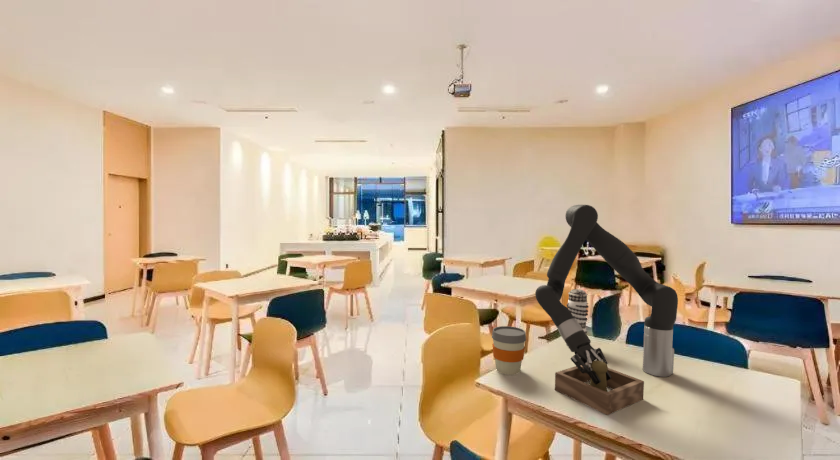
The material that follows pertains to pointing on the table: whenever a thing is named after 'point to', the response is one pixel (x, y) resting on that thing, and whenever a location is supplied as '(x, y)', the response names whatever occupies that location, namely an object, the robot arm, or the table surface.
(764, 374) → the table surface
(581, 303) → the decorative candle
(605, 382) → the olive pawn
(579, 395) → the walnut crate
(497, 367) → the reusable coffee cup
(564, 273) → the robot arm
